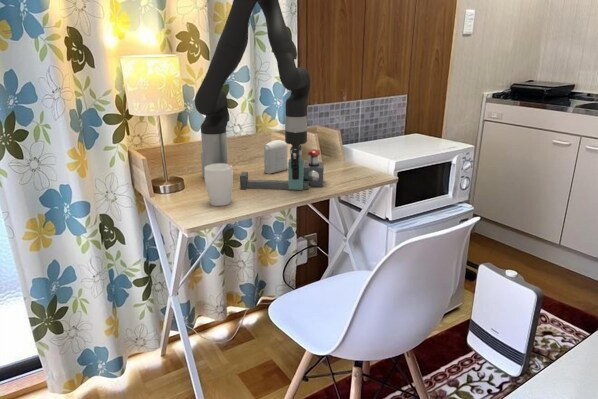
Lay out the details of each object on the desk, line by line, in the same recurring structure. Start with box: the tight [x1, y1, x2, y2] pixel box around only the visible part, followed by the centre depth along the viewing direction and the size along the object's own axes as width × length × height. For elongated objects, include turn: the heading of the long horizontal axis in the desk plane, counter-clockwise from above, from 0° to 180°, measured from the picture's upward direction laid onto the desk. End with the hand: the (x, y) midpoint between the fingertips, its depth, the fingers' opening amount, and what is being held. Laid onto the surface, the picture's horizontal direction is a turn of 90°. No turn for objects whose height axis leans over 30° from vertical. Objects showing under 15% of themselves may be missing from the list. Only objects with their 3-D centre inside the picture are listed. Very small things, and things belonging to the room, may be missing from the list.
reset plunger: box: [307, 148, 321, 166], centre depth 166 cm, size 4×4×7 cm
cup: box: [204, 163, 234, 207], centre depth 148 cm, size 9×9×12 cm
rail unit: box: [239, 161, 325, 191], centre depth 166 cm, size 29×13×7 cm, turn 86°
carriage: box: [287, 158, 305, 191], centre depth 162 cm, size 5×4×10 cm
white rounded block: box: [263, 139, 288, 175], centre depth 182 cm, size 10×4×12 cm, turn 134°
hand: (296, 176), depth 162 cm, fingers closed on carriage, 4 cm apart
